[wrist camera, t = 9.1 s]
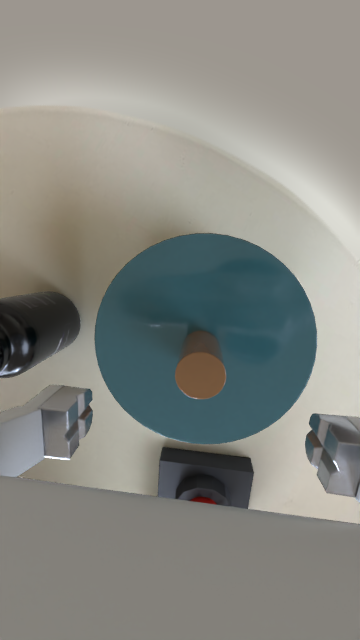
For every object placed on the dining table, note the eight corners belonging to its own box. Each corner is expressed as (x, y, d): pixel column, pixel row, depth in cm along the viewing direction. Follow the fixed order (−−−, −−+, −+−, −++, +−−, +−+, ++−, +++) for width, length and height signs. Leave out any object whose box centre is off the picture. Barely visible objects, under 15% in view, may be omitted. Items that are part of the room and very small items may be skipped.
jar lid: (329, 242, 15) (392, 232, 10) (289, 444, 19) (321, 511, 14) (100, 228, 16) (54, 213, 11) (101, 421, 20) (67, 476, 15)
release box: (250, 457, 31) (257, 486, 27) (241, 515, 33) (246, 549, 29) (162, 446, 31) (156, 472, 28) (159, 503, 34) (153, 534, 30)
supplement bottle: (82, 350, 29) (3, 408, 18) (28, 343, 30) (-84, 394, 18) (83, 293, 28) (-3, 315, 16) (26, 286, 28) (-99, 303, 17)
